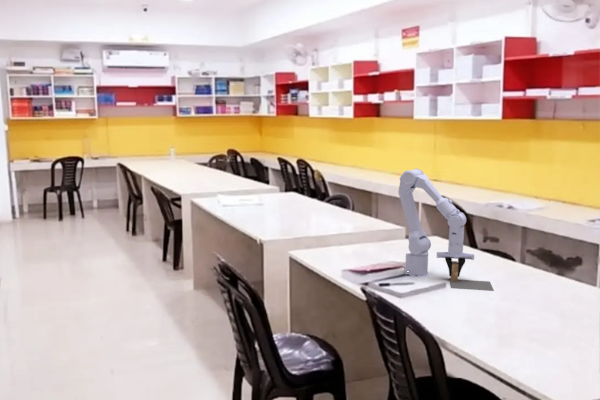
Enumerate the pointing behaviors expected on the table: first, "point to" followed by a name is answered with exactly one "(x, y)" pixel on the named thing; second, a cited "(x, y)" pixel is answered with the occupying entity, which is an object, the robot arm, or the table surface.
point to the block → (454, 271)
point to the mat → (471, 285)
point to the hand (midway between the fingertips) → (454, 276)
